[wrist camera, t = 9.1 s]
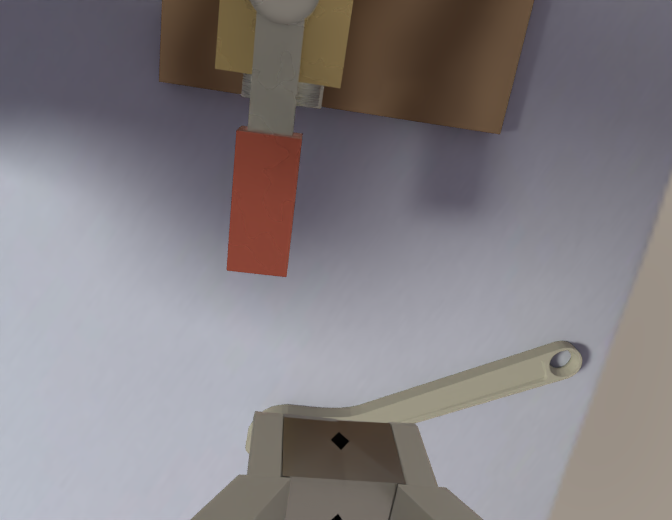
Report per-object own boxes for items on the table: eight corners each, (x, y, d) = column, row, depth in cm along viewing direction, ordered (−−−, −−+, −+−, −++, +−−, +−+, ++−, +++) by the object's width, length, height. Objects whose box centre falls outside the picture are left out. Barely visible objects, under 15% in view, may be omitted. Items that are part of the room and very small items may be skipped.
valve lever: (252, -60, 21) (247, -69, 19) (325, -48, 21) (326, -56, 19) (229, 257, 25) (224, 270, 24) (290, 264, 25) (288, 277, 24)
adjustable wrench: (570, 331, 40) (582, 343, 38) (578, 402, 42) (589, 416, 40) (242, 410, 41) (239, 425, 39) (266, 475, 43) (265, 492, 42)
